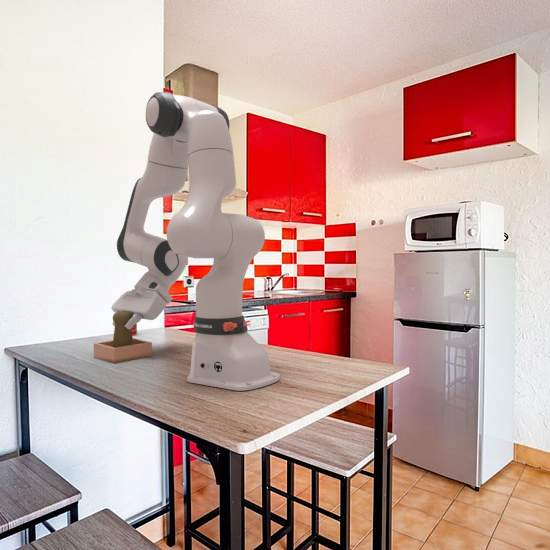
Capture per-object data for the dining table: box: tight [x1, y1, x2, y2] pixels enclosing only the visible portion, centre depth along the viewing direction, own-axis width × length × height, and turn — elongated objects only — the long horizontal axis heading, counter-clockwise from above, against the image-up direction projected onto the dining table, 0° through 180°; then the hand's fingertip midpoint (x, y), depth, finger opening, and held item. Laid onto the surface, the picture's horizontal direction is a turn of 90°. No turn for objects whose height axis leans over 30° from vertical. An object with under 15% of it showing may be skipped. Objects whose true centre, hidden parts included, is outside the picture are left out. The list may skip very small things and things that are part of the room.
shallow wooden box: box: [93, 337, 153, 364], centre depth 125 cm, size 12×12×4 cm
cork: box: [112, 312, 134, 348], centre depth 125 cm, size 6×6×11 cm
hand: (120, 327), depth 124 cm, fingers closed on cork, 5 cm apart
